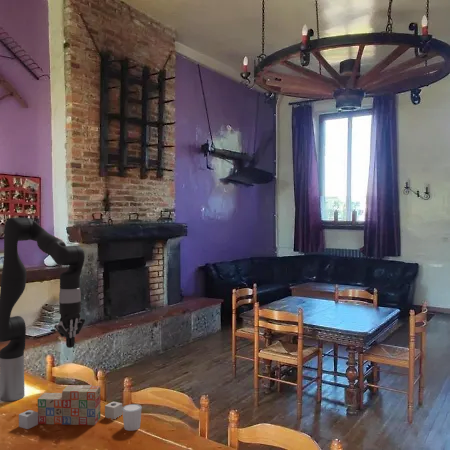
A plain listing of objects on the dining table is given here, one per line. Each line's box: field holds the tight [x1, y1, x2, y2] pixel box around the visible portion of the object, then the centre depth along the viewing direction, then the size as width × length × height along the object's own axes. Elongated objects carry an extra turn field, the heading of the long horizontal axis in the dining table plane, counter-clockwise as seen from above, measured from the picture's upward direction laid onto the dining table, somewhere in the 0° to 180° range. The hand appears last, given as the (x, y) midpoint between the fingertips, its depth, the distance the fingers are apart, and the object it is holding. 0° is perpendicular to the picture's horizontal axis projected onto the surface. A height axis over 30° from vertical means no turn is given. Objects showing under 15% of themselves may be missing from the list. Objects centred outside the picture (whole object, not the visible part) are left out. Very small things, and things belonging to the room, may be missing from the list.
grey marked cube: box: [18, 409, 39, 430], centre depth 169 cm, size 4×4×5 cm
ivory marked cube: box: [104, 401, 123, 420], centre depth 176 cm, size 4×4×5 cm
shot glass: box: [122, 403, 143, 432], centre depth 167 cm, size 7×7×7 cm
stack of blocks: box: [37, 384, 101, 426], centre depth 173 cm, size 21×6×12 cm, turn 87°
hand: (70, 347), depth 173 cm, fingers closed
